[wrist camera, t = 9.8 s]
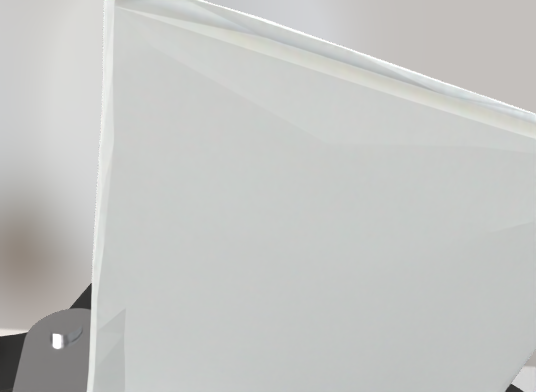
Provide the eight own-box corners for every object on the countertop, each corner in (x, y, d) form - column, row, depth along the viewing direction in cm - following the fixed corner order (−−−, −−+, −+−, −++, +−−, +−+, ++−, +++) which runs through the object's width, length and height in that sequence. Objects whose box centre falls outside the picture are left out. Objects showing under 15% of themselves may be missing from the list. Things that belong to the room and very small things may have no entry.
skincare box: (148, 389, 14) (189, 63, 9) (267, 389, 15) (350, 104, 11) (48, 784, 6) (16, -131, 1) (318, 711, 7) (721, 119, 3)
